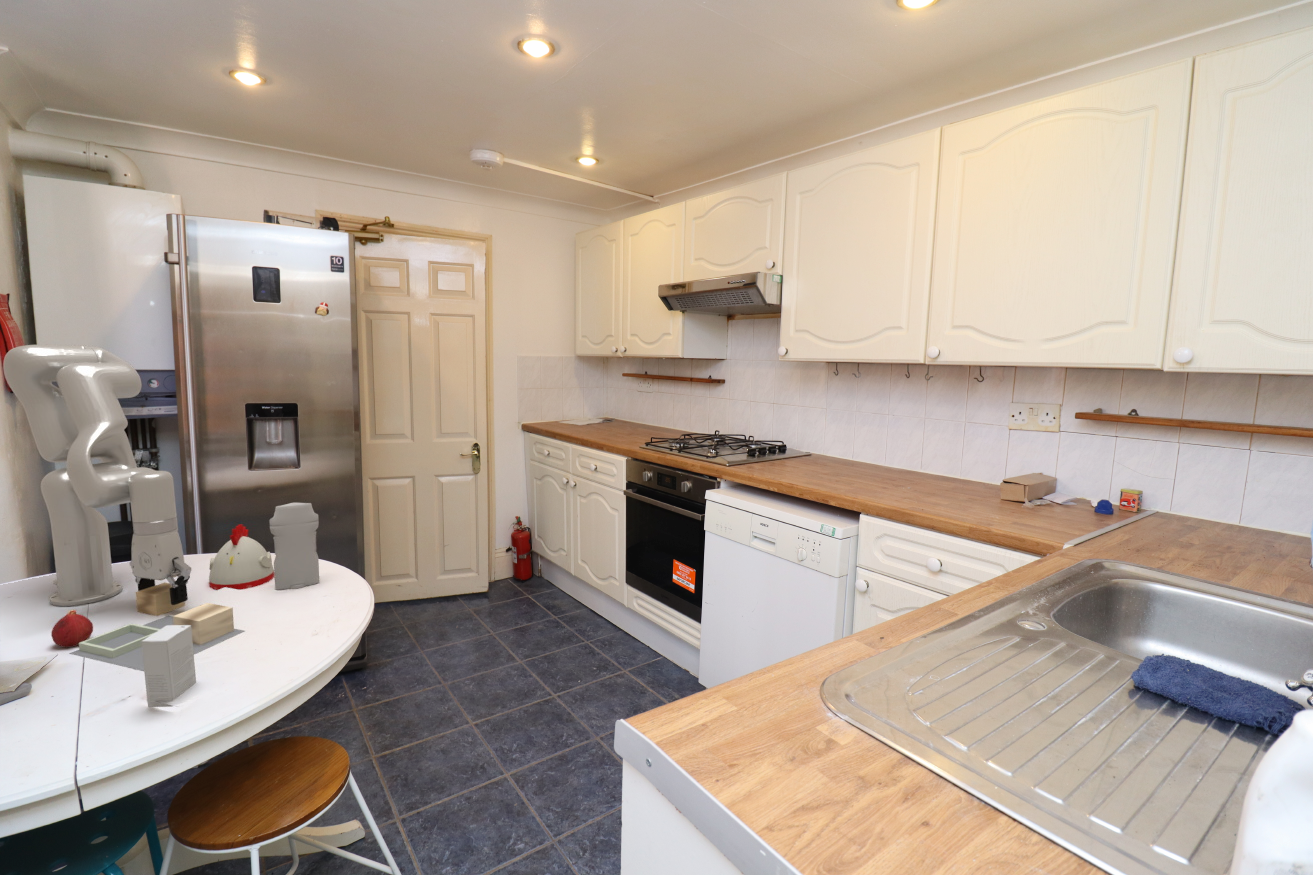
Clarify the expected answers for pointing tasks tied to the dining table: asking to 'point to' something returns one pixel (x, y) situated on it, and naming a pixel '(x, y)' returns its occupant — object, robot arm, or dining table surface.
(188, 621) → the brown rectangular block
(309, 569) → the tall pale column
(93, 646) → the socket
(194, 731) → the dining table surface
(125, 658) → the board
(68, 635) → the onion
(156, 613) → the cube
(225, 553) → the kitchen timer
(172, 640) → the skincare box
